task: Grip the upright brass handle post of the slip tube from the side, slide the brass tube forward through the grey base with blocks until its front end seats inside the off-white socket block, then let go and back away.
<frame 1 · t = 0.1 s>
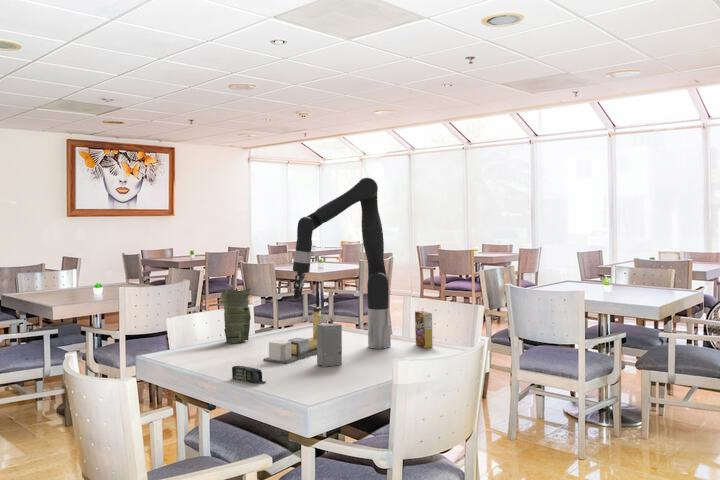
hand: (297, 297, 269), 22 cm above the table, tool pointing down, fingers open, 8 cm apart
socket: (284, 359, 245), resting on grey base with blocks
pouch: (237, 341, 284), on the table
grey base with blocks: (317, 348, 266), on the table
mobile phone: (248, 381, 212), on the table
candy box: (423, 346, 269), on the table
skincare box: (329, 364, 236), on the table
slip tube: (306, 329, 258), point 10 cm above the table, slide at 0.0 cm
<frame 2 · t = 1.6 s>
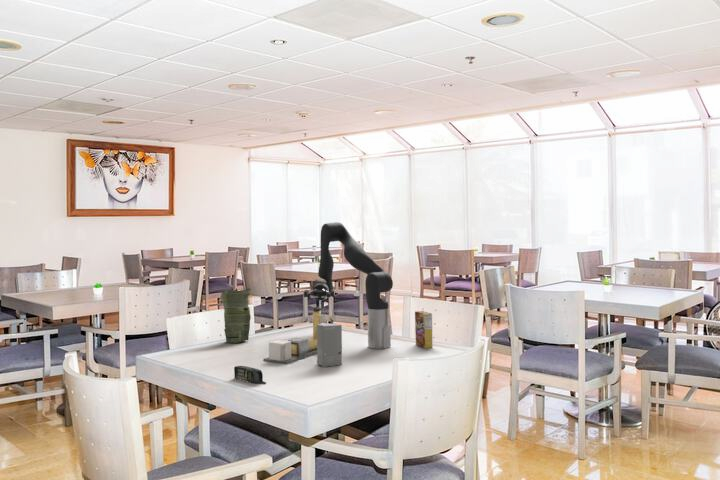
hand: (318, 295, 276), 22 cm above the table, tool horizontal, fingers open, 8 cm apart
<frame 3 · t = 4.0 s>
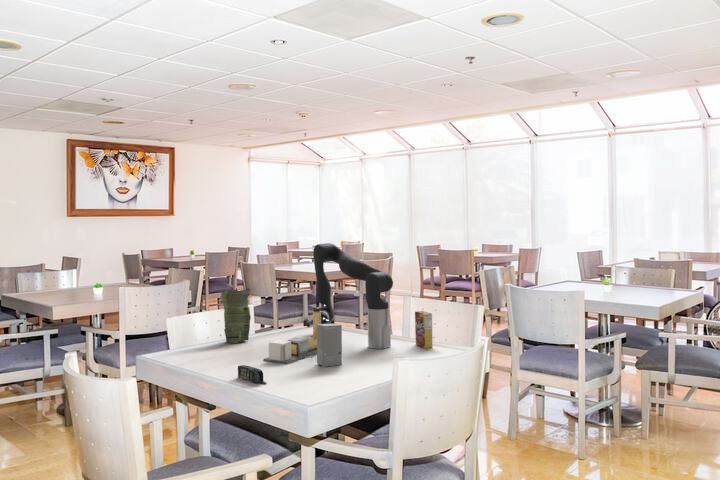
hand: (318, 325, 271), 10 cm above the table, tool horizontal, fingers open, 8 cm apart
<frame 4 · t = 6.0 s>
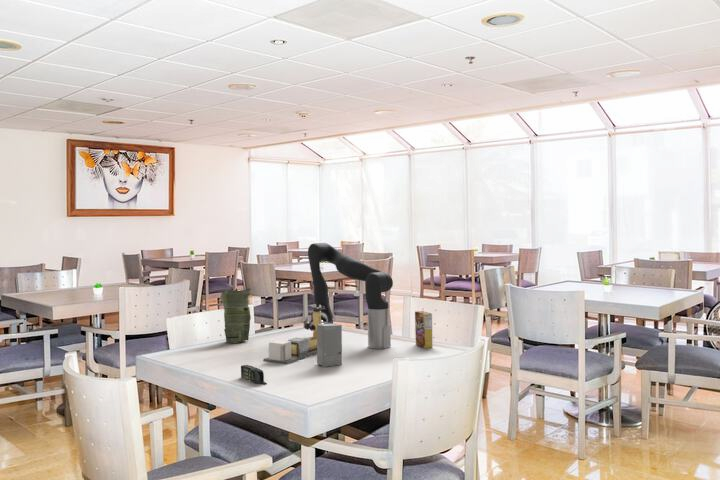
hand: (316, 328, 262), 10 cm above the table, tool horizontal, fingers closed on slip tube, 3 cm apart
slip tube: (306, 329, 258), point 10 cm above the table, slide at 0.0 cm, touching gripper
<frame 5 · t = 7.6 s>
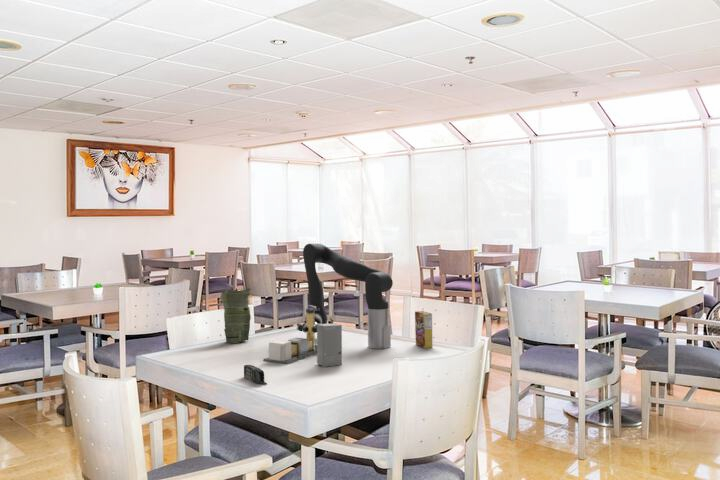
hand: (309, 330, 258), 10 cm above the table, tool horizontal, fingers closed on slip tube, 3 cm apart
slip tube: (299, 331, 254), point 10 cm above the table, slide at 5.0 cm, touching gripper
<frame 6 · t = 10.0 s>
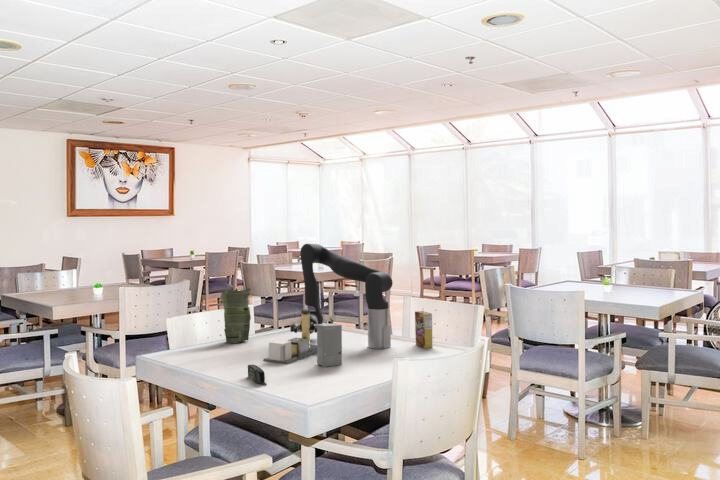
hand: (305, 330, 258), 9 cm above the table, tool horizontal, fingers open, 8 cm apart
slip tube: (294, 333, 251), point 10 cm above the table, slide at 8.5 cm
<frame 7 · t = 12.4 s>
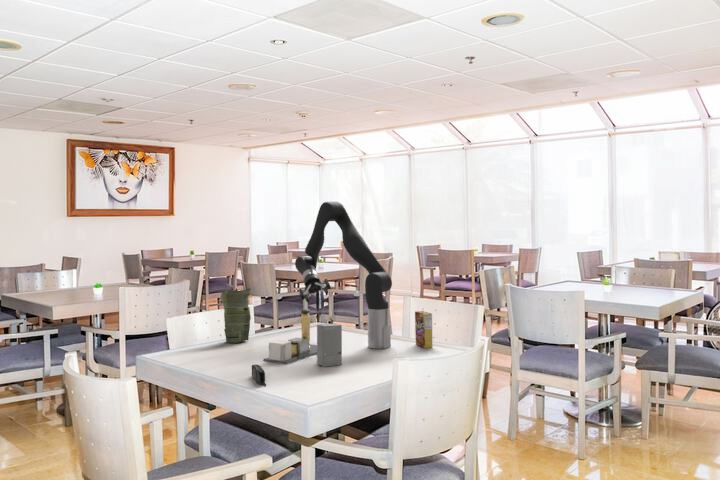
hand: (317, 297, 268), 22 cm above the table, tool tilted 65°, fingers open, 8 cm apart
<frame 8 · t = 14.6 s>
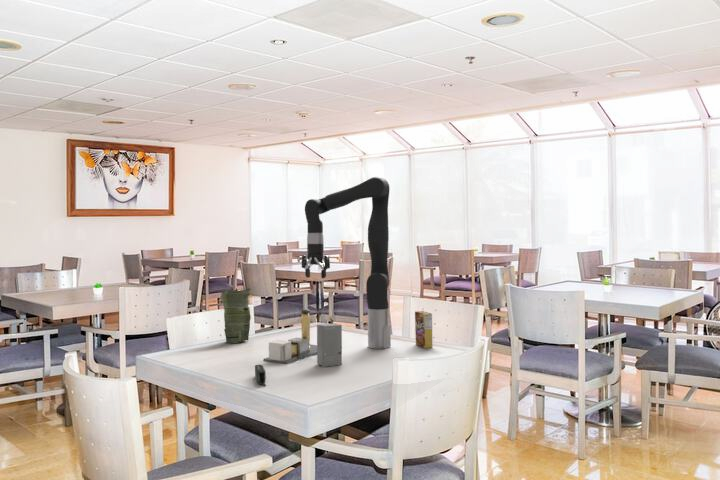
hand: (315, 277, 278), 30 cm above the table, tool pointing down, fingers open, 8 cm apart
at the end: slip tube slide at 8.5 cm; the gripper is holding nothing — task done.
